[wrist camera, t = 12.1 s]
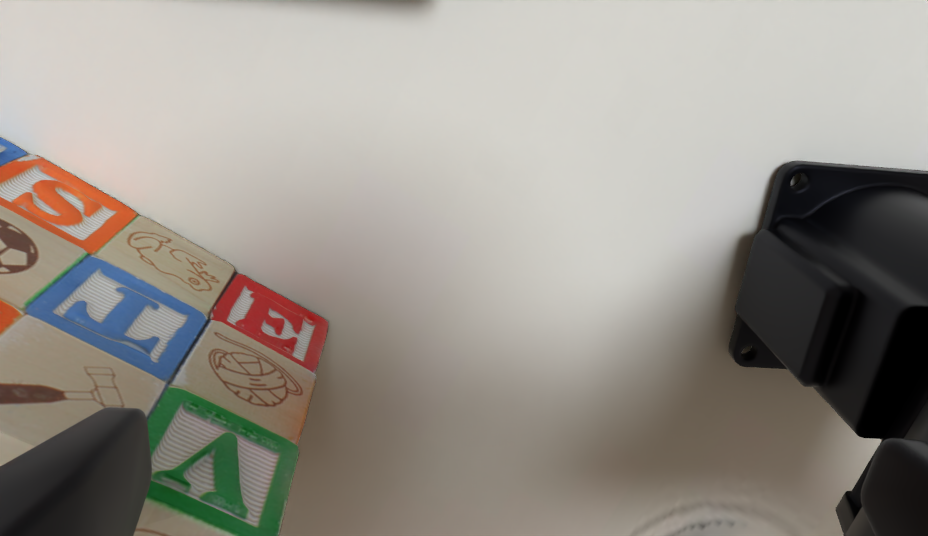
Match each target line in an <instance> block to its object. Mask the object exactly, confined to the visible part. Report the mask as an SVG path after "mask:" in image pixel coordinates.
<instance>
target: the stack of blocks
mask: <svg viewBox="0 0 928 536" xmlns="http://www.w3.org/2000/svg"><path fill="white" fill-rule="evenodd" d="M327 332H328V321H327V320H325V319H323V318H322V317H320V316H318V315H316V314H314V313H312V312H310V311H308V310H307V309H305V308H303V307H301V306H299V305H297V304H296V303H294V302H292V301H290V300H288V299H286V298H284V297H283V296H281V295H279V294H277V293H275V292H273V291H271V290H270V289H268V288H266V287H264V286H263V285H261V284H259V283H256V282H254V281H253V280H251V279H249V278H248V277H246V276H245V275H242V274H238V273H236V272H235V269H234V267H233V266H232V265H231V264H229V263H227V262H225V261H224V260H222V259H220V258H218V257H216V256H215V255H213V254H211V253H209V252H208V251H206V250H204V249H202V248H201V247H199V246H197V245H195V244H194V243H192V242H190V241H188V240H186V239H184V238H183V237H181V236H179V235H177V234H176V233H174V232H172V231H170V230H168V229H167V228H165V227H163V226H161V225H160V224H158V223H156V222H154V221H152V220H150V219H148V218H145V217H142V216H140V215H138V214H137V213H136V212H135V211H134V210H132V209H131V208H129V207H127V206H126V205H124V204H122V203H121V202H119V201H117V200H116V199H114V198H112V197H110V196H109V195H107V194H105V193H103V192H101V191H100V190H98V189H96V188H94V187H93V186H91V185H89V184H88V183H86V182H84V181H82V180H81V179H79V178H77V177H75V176H74V175H72V174H70V173H68V172H67V171H65V170H63V169H61V168H59V167H57V166H56V165H54V164H52V163H50V162H49V161H47V160H45V159H44V158H42V157H40V156H38V155H30V154H27V153H26V152H25V151H23V150H22V149H20V148H19V147H17V146H15V145H14V144H12V143H10V142H8V141H6V140H5V139H3V138H1V137H0V466H2V465H4V464H5V463H7V462H9V461H11V460H12V459H14V458H16V457H18V456H20V455H21V454H23V453H25V452H27V451H28V450H30V449H32V448H34V447H36V446H37V445H39V444H41V443H43V442H44V441H46V440H48V439H50V438H51V437H53V436H55V435H57V434H59V433H60V432H62V431H64V430H66V429H67V428H69V427H71V426H73V425H75V424H76V423H78V422H80V421H82V420H83V419H85V418H87V417H89V416H91V415H92V414H94V413H96V412H98V411H99V410H102V409H104V408H107V407H118V408H138V409H141V410H142V411H143V412H144V413H145V416H146V418H147V424H148V433H149V443H150V453H151V462H152V475H151V482H150V486H149V490H148V493H147V496H146V499H145V502H144V505H143V508H142V511H141V514H140V517H139V520H138V523H137V526H136V530H135V533H134V536H279V533H280V529H281V525H282V521H283V517H284V513H285V509H286V504H287V500H288V496H289V492H290V487H291V483H292V479H293V475H294V471H295V467H296V463H297V460H298V456H299V449H298V446H297V443H298V441H299V438H300V435H301V433H302V429H303V426H304V423H305V420H306V416H307V412H308V408H309V404H310V400H311V397H312V393H313V390H314V387H315V383H316V375H315V372H316V370H317V367H318V364H319V360H320V357H321V354H322V351H323V347H324V343H325V340H326V336H327Z"/></svg>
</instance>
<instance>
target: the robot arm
mask: <svg viewBox="0 0 928 536" xmlns="http://www.w3.org/2000/svg"><path fill="white" fill-rule="evenodd" d="M799 173H801V180H800V181H799V183H798V184H796V185H795V186H791V180H792V178H793V177H794V176H795V175H796V174H799ZM735 310H736V312H737V313H738V314H737V318H736V321H735V325H734V329H733V332H732V336H731V339H730V343H729V350H728V351H729V353H730V356H731V357H732V358H733V359H734V361H735V362H736V363H737V364H739V365H740V366H744V367H759V368H779V369H788V370H789V371H790V372H791V373H792V374H793V375H794V377H795V378H796V379H797V380H798V381H799V382H800V383H801V384H802V385H804V386H806V387H813V388H814V389H815V390H816V391H817V392H818V393H819V394H820V395H821V396H822V397H823V399H824V400H825V401H826V402H827V403H828V404H829V405H830V406H831V407H832V408H833V409H834V410H835V411H836V412H837V414H838V415H839V416H840V417H841V418H842V419H843V420H844V421H845V422H846V423H847V424H848V425H849V426H850V427H851V429H852V430H853V431H854V432H855V433H856V434H857V435H858V436H859V437H863V438H876V439H881V440H882V441H881V443H880V445H879V446H878V448H877V450H876V451H875V453H874V455H873V456H872V458H871V460H870V461H869V463H868V465H867V466H866V468H865V470H864V471H863V473H862V475H861V476H860V478H859V480H858V481H857V483H856V485H855V486H854V488H853V490H852V491H846V492H845V494H844V495H843V497H842V499H841V500H840V502H839V504H838V505H837V507H836V513H837V516H838V519H839V522H840V525H841V528H842V531H843V533H844V536H928V171H920V170H908V169H895V168H883V167H870V166H858V165H845V164H832V163H820V162H807V161H791V162H789V163H787V164H785V165H783V166H782V167H781V168H780V169H779V171H778V173H777V175H776V177H775V181H774V185H773V188H772V192H771V195H770V199H769V203H768V206H767V210H766V213H765V217H764V221H763V224H762V228H761V230H760V231H759V232H758V233H757V234H756V235H755V237H754V240H753V244H752V247H751V251H750V255H749V258H748V262H747V265H746V269H745V273H744V276H743V280H742V284H741V287H740V291H739V295H738V298H737V302H736V305H735ZM747 346H752V347H751V349H750V351H748V352H747V353H743V354H742V353H741V352H742V351H743V349H744V348H746V347H747ZM151 475H152V462H151V453H150V443H149V433H148V424H147V418H146V416H145V413H144V412H143V411H142V410H141V409H138V408H118V407H107V408H104V409H102V410H99V411H98V412H96V413H94V414H92V415H91V416H89V417H87V418H85V419H83V420H82V421H80V422H78V423H76V424H75V425H73V426H71V427H69V428H67V429H66V430H64V431H62V432H60V433H59V434H57V435H55V436H53V437H51V438H50V439H48V440H46V441H44V442H43V443H41V444H39V445H37V446H36V447H34V448H32V449H30V450H28V451H27V452H25V453H23V454H21V455H20V456H18V457H16V458H14V459H12V460H11V461H9V462H7V463H5V464H4V465H2V466H0V536H134V533H135V530H136V526H137V523H138V520H139V517H140V514H141V511H142V508H143V505H144V502H145V499H146V496H147V493H148V490H149V486H150V482H151Z"/></svg>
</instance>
